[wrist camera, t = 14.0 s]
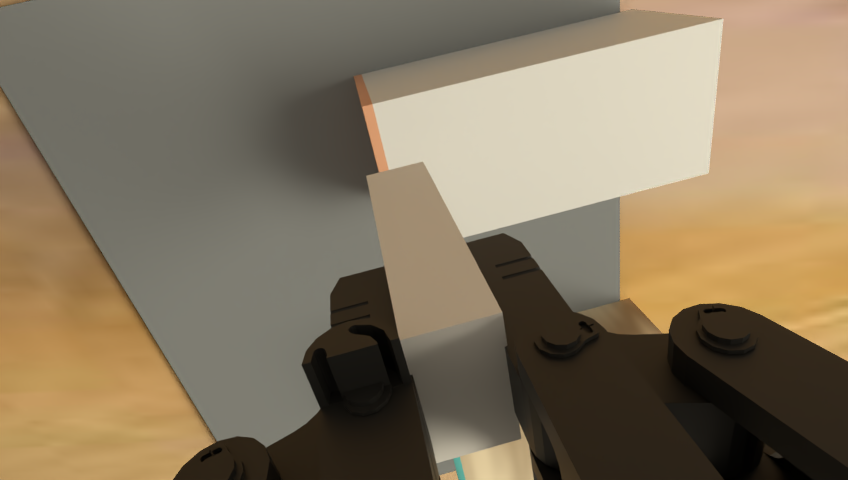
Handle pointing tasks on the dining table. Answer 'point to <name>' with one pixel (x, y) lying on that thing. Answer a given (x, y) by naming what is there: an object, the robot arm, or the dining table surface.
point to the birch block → (511, 462)
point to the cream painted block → (552, 115)
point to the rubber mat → (254, 169)
